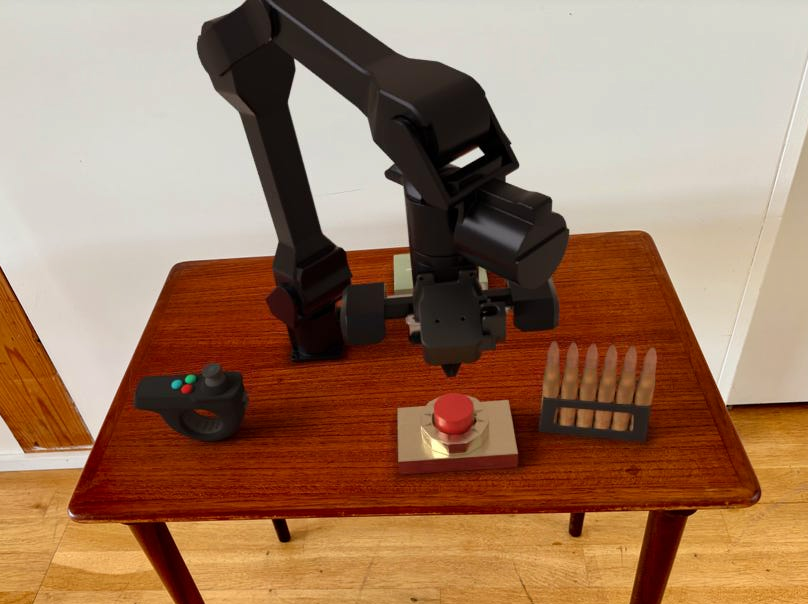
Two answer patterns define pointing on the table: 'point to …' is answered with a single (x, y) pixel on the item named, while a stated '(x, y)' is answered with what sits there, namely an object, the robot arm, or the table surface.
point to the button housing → (456, 440)
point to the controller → (196, 401)
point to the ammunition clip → (597, 395)
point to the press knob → (454, 413)
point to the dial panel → (404, 275)
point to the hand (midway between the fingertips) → (451, 374)
